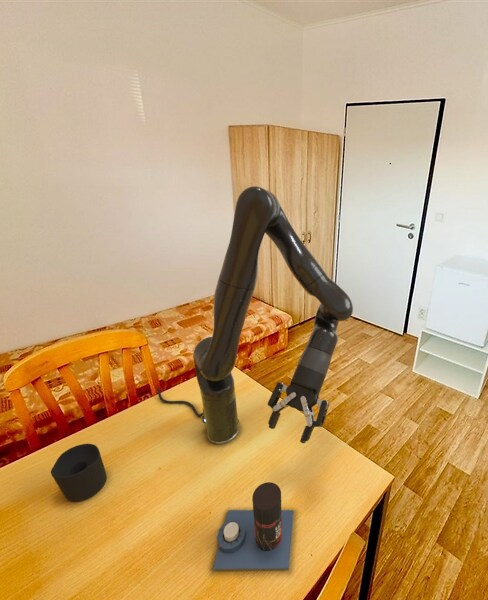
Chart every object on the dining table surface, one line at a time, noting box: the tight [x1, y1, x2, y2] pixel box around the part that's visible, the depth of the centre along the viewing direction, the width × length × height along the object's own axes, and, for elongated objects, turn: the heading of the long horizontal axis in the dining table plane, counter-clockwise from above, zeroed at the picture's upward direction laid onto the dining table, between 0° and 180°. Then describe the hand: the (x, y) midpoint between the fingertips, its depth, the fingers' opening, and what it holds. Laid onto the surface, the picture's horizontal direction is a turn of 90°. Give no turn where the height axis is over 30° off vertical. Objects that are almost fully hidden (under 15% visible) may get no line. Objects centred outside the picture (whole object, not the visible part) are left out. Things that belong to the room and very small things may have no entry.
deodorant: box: [251, 481, 282, 551], centre depth 70 cm, size 6×6×15 cm
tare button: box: [224, 522, 239, 542], centre depth 71 cm, size 3×3×2 cm
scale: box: [212, 509, 294, 572], centre depth 72 cm, size 17×12×2 cm
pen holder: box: [50, 443, 108, 503], centre depth 79 cm, size 9×9×10 cm
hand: (286, 435), depth 73 cm, fingers open, 8 cm apart
